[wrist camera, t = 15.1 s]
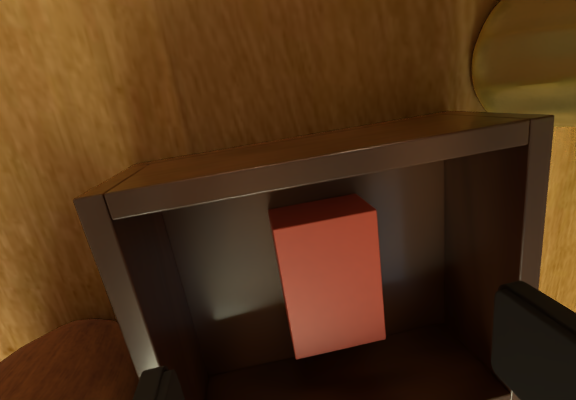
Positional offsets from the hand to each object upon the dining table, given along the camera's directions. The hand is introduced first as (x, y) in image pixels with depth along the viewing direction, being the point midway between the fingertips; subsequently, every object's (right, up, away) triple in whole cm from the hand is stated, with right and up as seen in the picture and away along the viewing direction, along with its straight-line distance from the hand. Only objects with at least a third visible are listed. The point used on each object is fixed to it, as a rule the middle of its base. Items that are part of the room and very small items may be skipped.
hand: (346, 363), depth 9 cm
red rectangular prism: (0, +2, +6) cm, 6 cm away
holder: (0, +2, +7) cm, 7 cm away
